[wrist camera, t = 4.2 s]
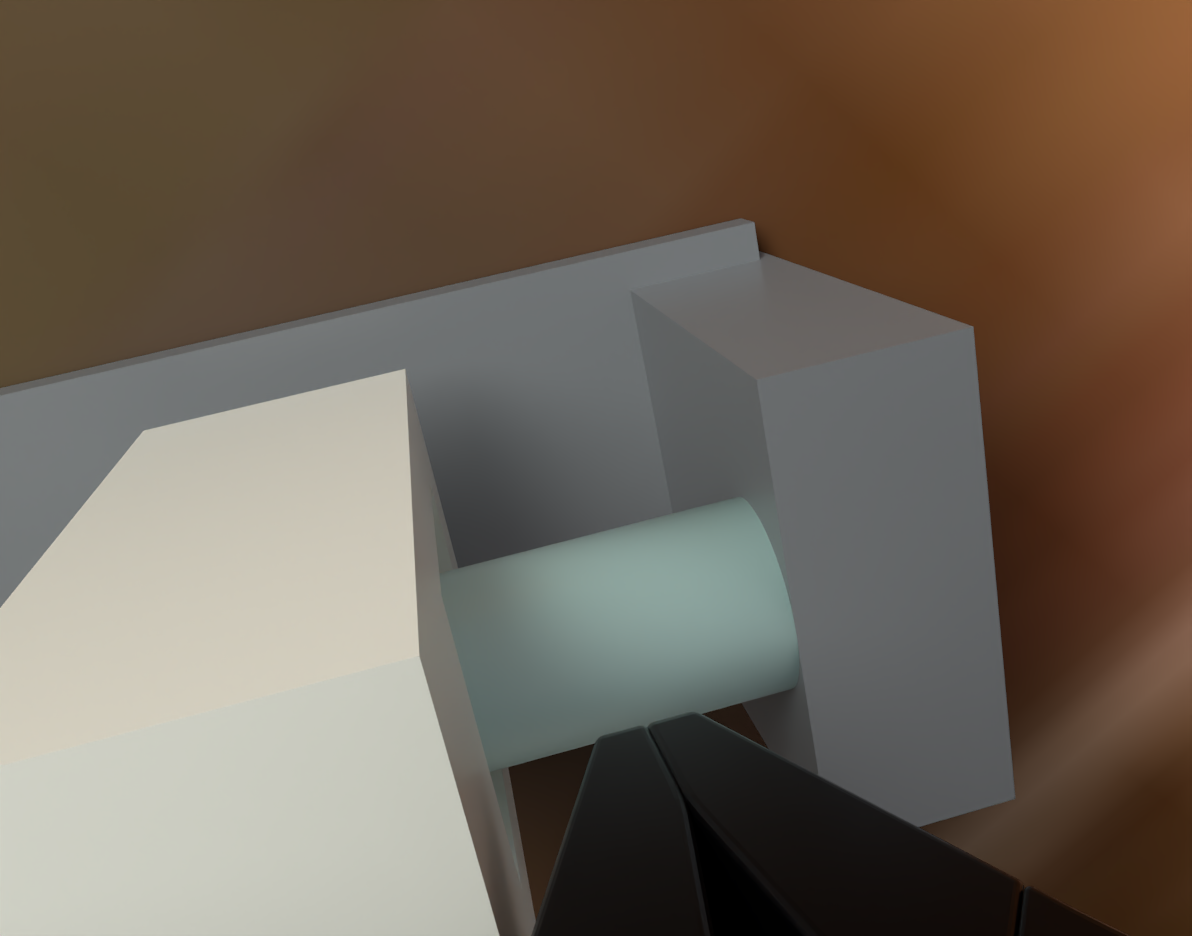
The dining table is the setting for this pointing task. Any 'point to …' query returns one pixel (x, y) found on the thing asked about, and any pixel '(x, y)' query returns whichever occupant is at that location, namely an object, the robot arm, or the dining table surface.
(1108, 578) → the dining table surface
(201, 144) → the dining table surface
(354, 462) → the sleeve
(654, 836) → the robot arm
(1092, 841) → the dining table surface
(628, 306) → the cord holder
